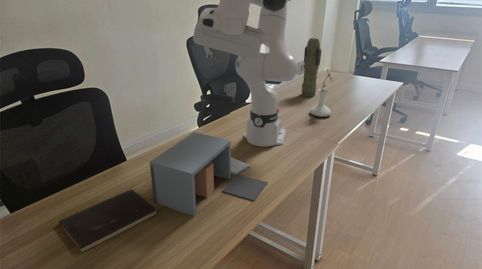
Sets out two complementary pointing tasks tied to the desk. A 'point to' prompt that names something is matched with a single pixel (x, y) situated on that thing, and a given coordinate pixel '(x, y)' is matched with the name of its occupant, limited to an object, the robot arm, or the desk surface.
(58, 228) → the desk surface
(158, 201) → the cubby
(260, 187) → the mat
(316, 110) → the flower in vase
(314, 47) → the thermos
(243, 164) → the hard drive
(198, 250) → the desk surface
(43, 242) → the desk surface
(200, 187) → the block
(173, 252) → the desk surface
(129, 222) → the hardcover book
